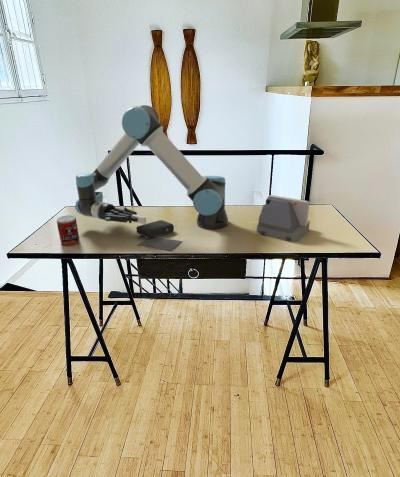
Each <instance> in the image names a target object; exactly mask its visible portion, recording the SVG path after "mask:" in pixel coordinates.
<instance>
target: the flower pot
mask: <svg viewBox="0 0 400 477" xmlns="http://www.w3.org/2000/svg"><path fill="white" fill-rule="evenodd" d="M95 193H96V201H98V202H103V201H104V200H103V198H104V197H103V193H104V192H103V191H95Z"/></svg>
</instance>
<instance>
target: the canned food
mask: <svg viewBox="0 0 400 477" xmlns="http://www.w3.org/2000/svg"><path fill="white" fill-rule="evenodd" d="M56 225H57V230H58V235H59V240H60V244H61V245H62V246H66V247H71V246H74V245H77V244H78V243H79V242H80V235H79V228H78V223H77V218H76V216H75V215H63V216H62V215H61V216H58V217H57V218H56Z"/></svg>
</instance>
